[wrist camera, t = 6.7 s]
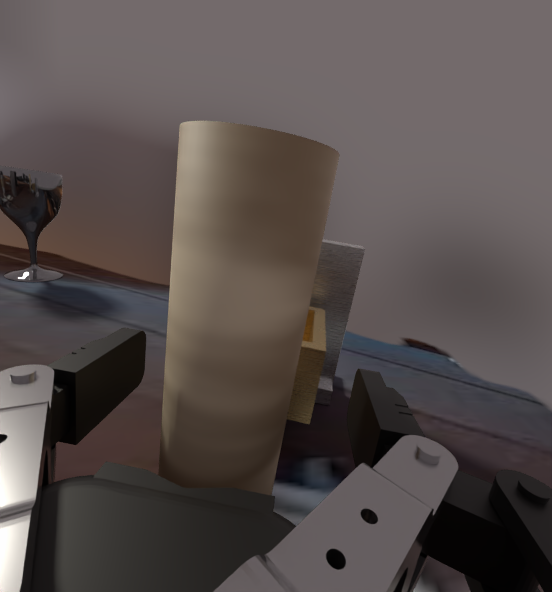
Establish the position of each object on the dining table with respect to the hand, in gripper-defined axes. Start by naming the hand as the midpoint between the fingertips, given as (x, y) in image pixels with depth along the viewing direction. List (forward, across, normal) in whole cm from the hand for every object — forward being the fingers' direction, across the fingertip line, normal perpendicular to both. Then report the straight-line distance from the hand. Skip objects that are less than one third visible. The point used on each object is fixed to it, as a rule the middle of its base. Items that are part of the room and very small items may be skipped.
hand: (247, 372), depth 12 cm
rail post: (-1, 0, -10) cm, 11 cm away
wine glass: (+33, -38, -8) cm, 51 cm away
